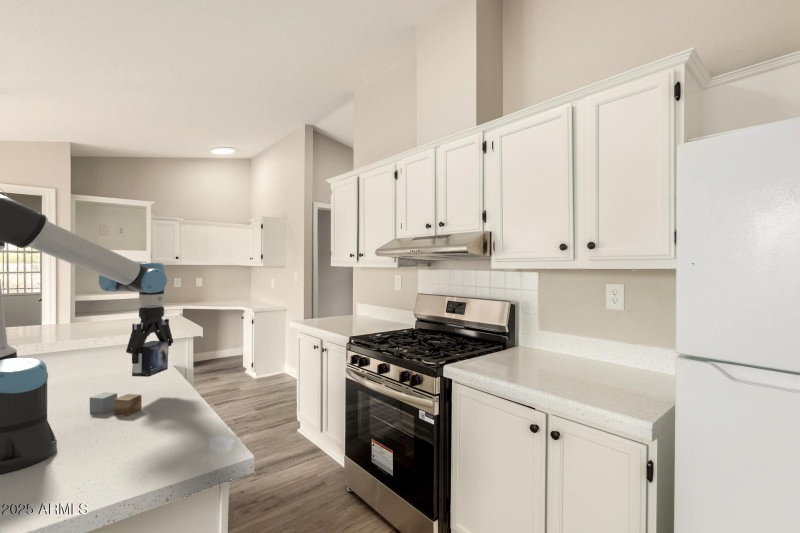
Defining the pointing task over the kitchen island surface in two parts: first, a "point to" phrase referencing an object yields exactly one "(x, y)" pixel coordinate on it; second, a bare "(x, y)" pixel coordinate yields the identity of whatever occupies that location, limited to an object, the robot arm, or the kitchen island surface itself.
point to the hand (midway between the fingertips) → (150, 368)
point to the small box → (153, 358)
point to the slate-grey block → (102, 403)
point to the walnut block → (127, 404)
